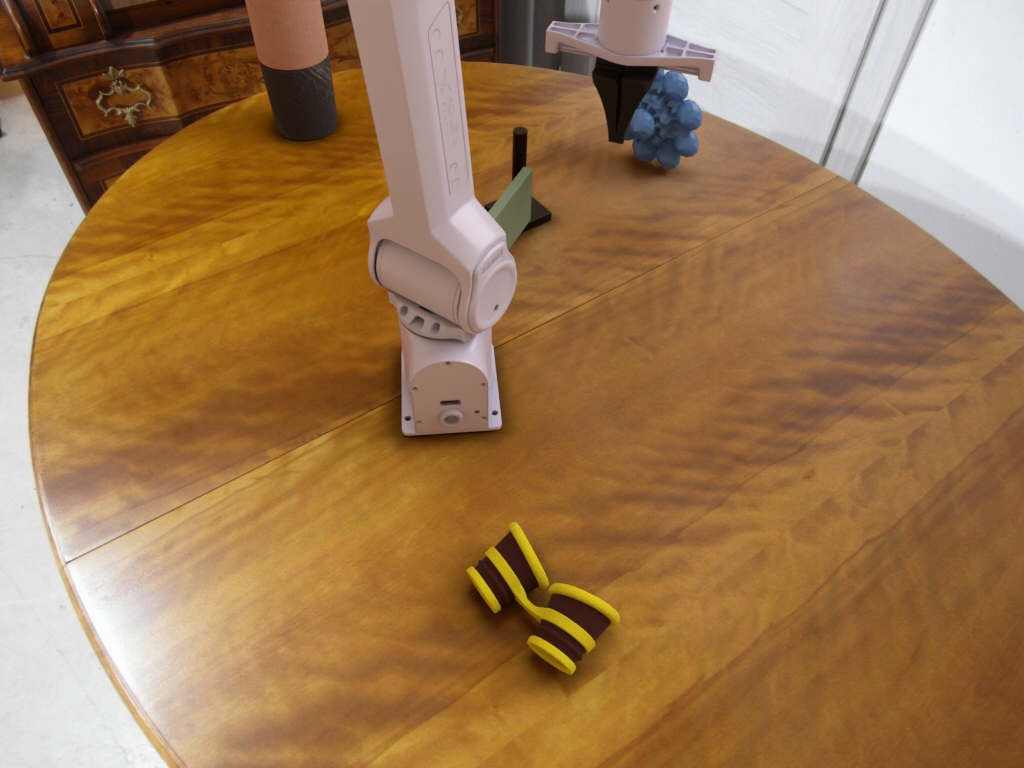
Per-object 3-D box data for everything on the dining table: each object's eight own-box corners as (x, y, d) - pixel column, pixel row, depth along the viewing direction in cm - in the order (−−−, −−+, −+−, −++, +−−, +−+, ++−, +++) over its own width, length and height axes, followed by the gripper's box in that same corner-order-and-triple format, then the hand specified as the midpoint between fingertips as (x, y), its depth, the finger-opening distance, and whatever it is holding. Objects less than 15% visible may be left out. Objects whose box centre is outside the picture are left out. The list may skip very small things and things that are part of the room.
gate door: (509, 213, 79) (510, 162, 75) (530, 219, 79) (533, 168, 74) (456, 284, 72) (453, 232, 68) (479, 291, 71) (478, 240, 67)
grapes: (581, 160, 88) (591, 58, 79) (612, 135, 92) (625, 34, 83) (672, 197, 84) (694, 93, 75) (701, 169, 87) (724, 66, 78)
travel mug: (319, 101, 95) (286, -79, 80) (352, 127, 92) (324, -56, 77) (263, 121, 92) (218, -62, 77) (294, 149, 88) (254, -38, 73)
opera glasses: (466, 589, 54) (452, 565, 50) (518, 536, 56) (510, 508, 52) (568, 689, 50) (563, 672, 46) (622, 628, 51) (621, 606, 47)
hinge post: (484, 212, 81) (483, 126, 74) (522, 196, 83) (525, 110, 76) (512, 237, 79) (514, 150, 71) (551, 220, 81) (557, 134, 73)
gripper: (737, -20, 63) (703, 131, 73) (566, -47, 66) (556, 102, 76) (723, 15, 58) (688, 171, 69) (540, -15, 61) (533, 138, 72)
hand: (618, 137), depth 72 cm, fingers closed
